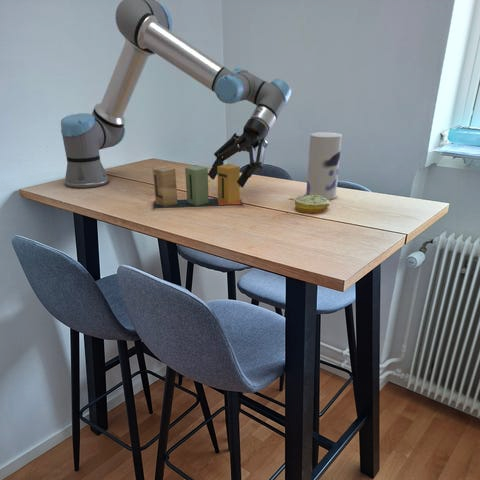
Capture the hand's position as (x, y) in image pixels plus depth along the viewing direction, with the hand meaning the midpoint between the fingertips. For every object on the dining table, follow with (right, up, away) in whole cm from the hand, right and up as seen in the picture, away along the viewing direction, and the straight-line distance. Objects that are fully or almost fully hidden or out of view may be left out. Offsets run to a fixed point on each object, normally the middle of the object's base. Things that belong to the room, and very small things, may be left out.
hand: (224, 181), depth 148 cm
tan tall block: (-19, -7, +2) cm, 20 cm away
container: (+32, -2, +12) cm, 34 cm away
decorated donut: (+27, -9, -1) cm, 29 cm away
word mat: (-9, -7, +3) cm, 11 cm away
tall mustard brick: (+1, -5, +4) cm, 7 cm away
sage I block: (-9, -6, +3) cm, 11 cm away
